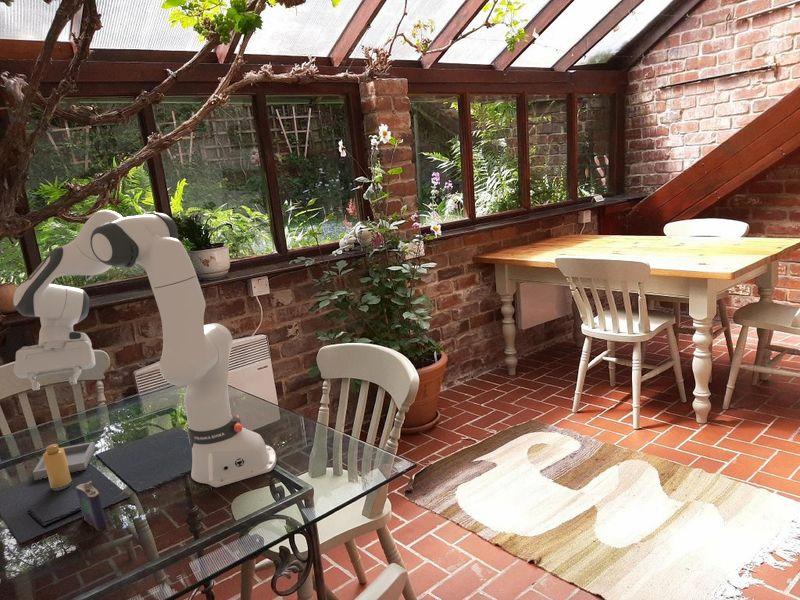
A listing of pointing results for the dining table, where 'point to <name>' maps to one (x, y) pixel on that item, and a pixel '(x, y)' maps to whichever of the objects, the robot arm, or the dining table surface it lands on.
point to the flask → (91, 506)
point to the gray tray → (70, 459)
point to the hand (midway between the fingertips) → (54, 386)
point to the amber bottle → (56, 466)
